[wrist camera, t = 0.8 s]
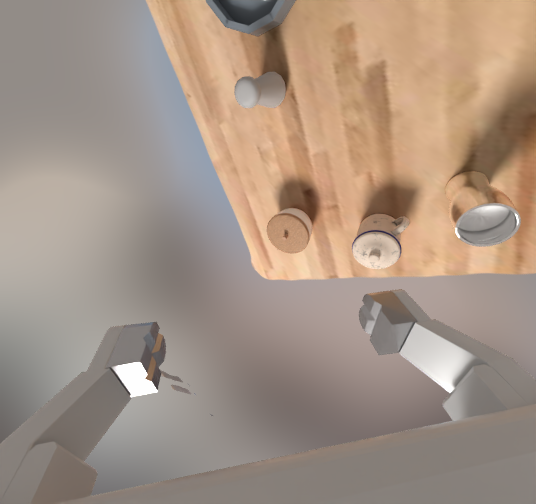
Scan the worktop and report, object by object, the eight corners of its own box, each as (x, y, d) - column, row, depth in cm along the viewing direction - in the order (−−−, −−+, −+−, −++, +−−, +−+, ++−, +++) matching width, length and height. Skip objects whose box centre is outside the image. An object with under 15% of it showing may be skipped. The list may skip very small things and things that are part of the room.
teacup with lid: (378, 253, 57) (373, 284, 48) (349, 229, 57) (339, 256, 48) (424, 222, 48) (428, 253, 40) (391, 194, 48) (388, 219, 40)
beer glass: (440, 174, 43) (452, 207, 32) (492, 162, 39) (525, 196, 28) (442, 208, 46) (454, 250, 35) (491, 201, 42) (520, 245, 31)
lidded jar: (322, 235, 61) (311, 255, 54) (286, 240, 67) (272, 258, 60) (310, 197, 56) (297, 214, 50) (273, 205, 62) (257, 221, 56)
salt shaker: (295, 92, 46) (266, 97, 36) (274, 113, 49) (243, 122, 40) (278, 63, 44) (243, 60, 35) (258, 87, 48) (222, 89, 39)
